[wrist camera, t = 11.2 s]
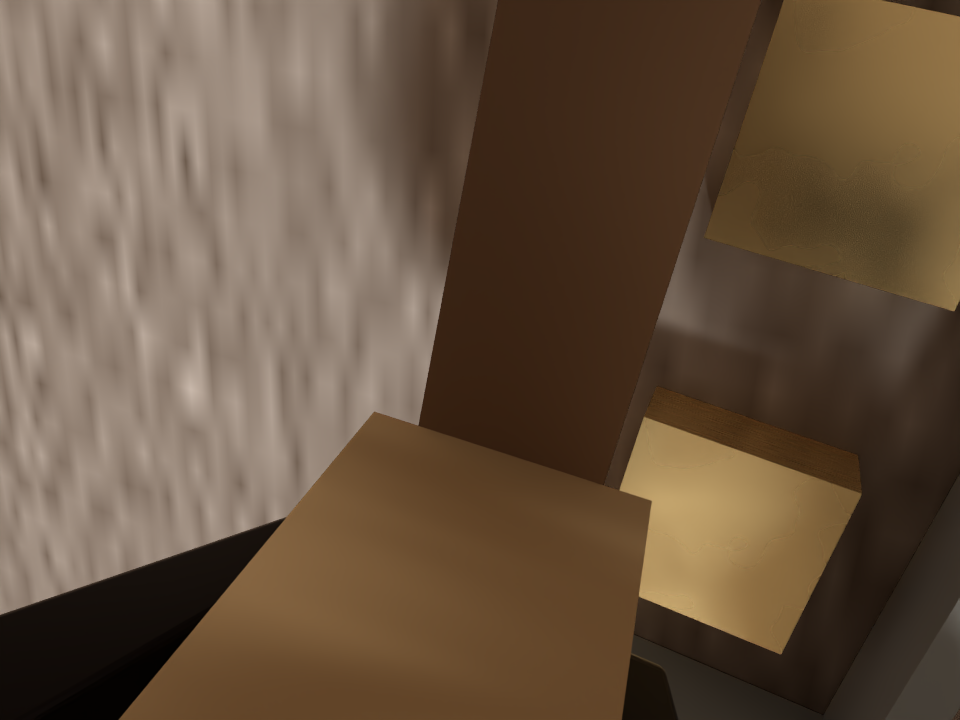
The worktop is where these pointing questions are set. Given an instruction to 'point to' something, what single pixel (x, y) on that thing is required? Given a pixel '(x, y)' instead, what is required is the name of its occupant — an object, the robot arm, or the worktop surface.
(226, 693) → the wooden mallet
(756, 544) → the tan square block
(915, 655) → the tray
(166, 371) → the worktop surface
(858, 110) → the chip
